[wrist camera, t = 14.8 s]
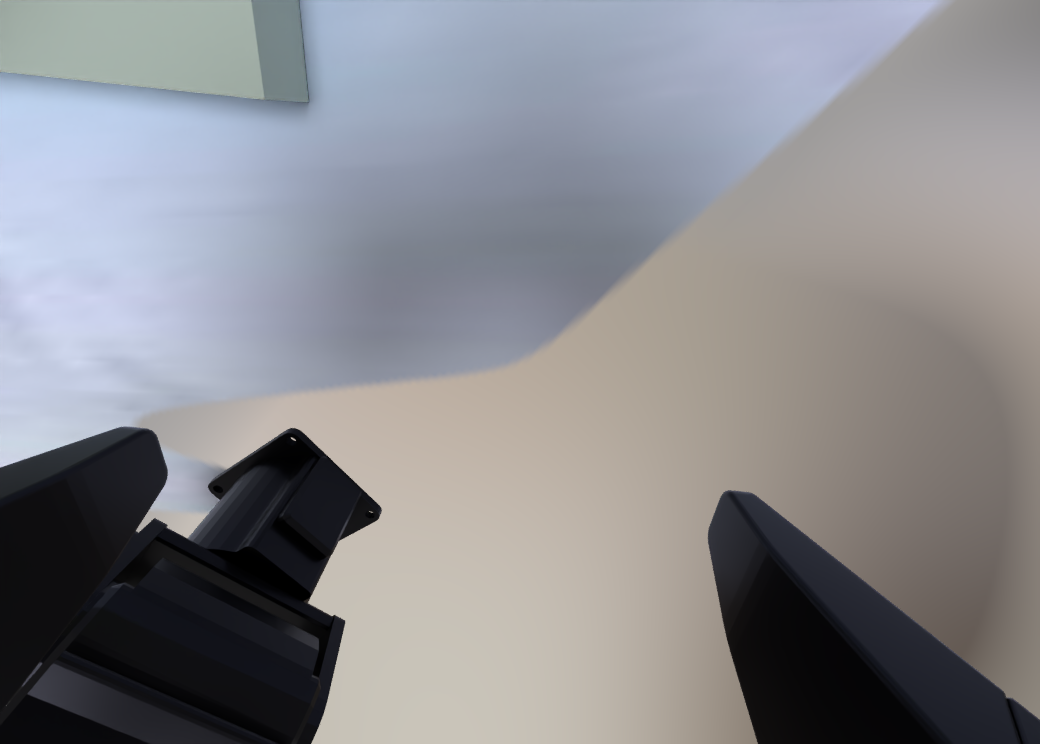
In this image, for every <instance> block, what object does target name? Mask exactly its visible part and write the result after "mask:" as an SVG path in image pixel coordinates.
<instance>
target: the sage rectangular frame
mask: <svg viewBox="0 0 1040 744" xmlns="http://www.w3.org/2000/svg"><path fill="white" fill-rule="evenodd" d="M0 72H7V73H16V74H26V75H35V76H45V77H54V78H64V79H73V80H82V81H92V82H101V83H111V84H120V85H130V86H139V87H149V88H158V89H168V90H177V91H186V92H196V93H205V94H215V95H224V96H234V97H243V98H253V99H262V100H277V101H294V102H309V100H308V90H307V79H306V69H305V59H304V49H303V38H302V28H301V18H300V7H299V0H0Z"/></svg>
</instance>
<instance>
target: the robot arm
mask: <svg viewBox="0 0 1040 744" xmlns="http://www.w3.org/2000/svg"><path fill="white" fill-rule="evenodd" d="M290 437H292V438H294V439H295V440H296V441H294V440H292V439H291V438H290ZM167 475H168V470H167V466H166V463H165V460H164V457H163V453H162V450H161V447H160V444H159V441H158V438H157V435H156V434H155V433H154V432H153V431H152V430H149V429H145V428H137V427H119V428H116V429H113V430H110V431H107V432H104V433H101V434H98V435H95V436H92V437H89V438H86V439H83V440H80V441H77V442H75V443H72V444H69V445H66V446H63V447H60V448H57V449H54V450H51V451H48V452H45V453H42V454H39V455H36V456H33V457H30V458H27V459H24V460H21V461H18V462H16V463H13V464H10V465H7V466H4V467H1V468H0V744H311V743H312V740H313V738H314V736H315V734H316V732H317V729H318V727H319V724H320V722H321V719H322V716H323V714H324V710H325V707H326V703H327V699H328V695H329V691H330V686H331V682H332V678H333V673H334V669H335V665H336V660H337V656H338V651H339V647H340V643H341V638H342V634H343V630H344V625H345V620H343V619H341V618H339V617H337V616H335V615H334V616H330V615H329V614H327V613H324V612H323V611H321V610H319V609H317V608H316V607H314V606H312V605H310V604H308V601H309V599H310V597H311V595H312V593H313V591H314V589H315V587H316V585H317V583H318V581H319V579H320V576H321V575H322V573H323V571H324V569H325V567H326V565H327V563H328V560H329V558H330V556H331V555H332V553H333V552H334V549H335V547H336V545H337V543H338V541H340V540H341V539H343V538H345V537H347V536H349V535H351V534H353V533H355V532H356V531H358V530H360V529H362V528H364V527H366V526H368V525H370V524H371V523H373V522H375V521H377V520H378V519H379V516H380V514H381V511H382V510H381V507H380V506H379V505H378V504H377V503H376V502H375V501H374V500H373V499H372V498H371V497H370V496H369V495H368V494H367V493H366V492H364V490H363V489H361V488H360V487H359V486H358V485H357V484H356V483H355V482H354V481H353V480H352V479H351V478H350V477H349V476H348V475H347V474H346V473H345V472H344V471H343V470H342V469H340V468H339V467H338V466H337V465H336V464H335V463H334V462H333V461H332V460H331V459H330V458H329V457H328V456H327V455H326V454H325V453H324V452H323V451H322V450H320V449H319V448H318V447H317V446H316V445H315V444H314V443H313V442H312V441H311V440H310V439H309V438H308V437H307V436H306V435H305V434H304V433H303V432H301V431H300V430H298V429H295V428H290V429H288V430H286V431H285V432H283V433H281V434H280V435H278V436H277V437H275V438H274V439H273V440H271V441H269V442H268V443H266V444H265V445H263V446H262V447H260V448H259V449H257V450H256V451H254V452H253V453H251V454H250V455H248V456H247V457H245V458H244V459H242V460H241V461H239V462H238V463H236V464H235V465H233V466H232V467H230V468H229V469H227V470H226V471H224V472H223V473H221V474H220V475H218V476H217V477H215V478H214V479H213V480H212V481H211V482H210V484H209V485H208V488H209V491H210V492H211V493H212V494H213V495H215V496H216V497H217V498H218V499H220V501H219V502H218V503H217V504H216V506H215V507H214V508H213V509H212V510H211V512H210V513H209V514H208V515H207V516H206V517H205V519H204V520H203V521H202V522H201V523H200V525H199V526H198V527H197V528H196V529H195V530H194V532H193V533H192V534H191V535H190V536H189V538H188V539H187V538H185V537H183V536H181V535H180V534H178V533H176V532H174V531H172V530H170V529H168V528H167V524H165V523H163V522H161V521H159V520H157V519H155V518H154V519H153V520H152V521H151V522H150V523H149V524H148V525H147V526H146V527H144V528H143V529H142V530H141V531H140V532H139V533H138V532H136V529H137V528H138V526H139V524H140V523H141V522H142V520H143V518H144V517H145V515H146V514H147V512H148V511H149V509H150V507H151V506H152V504H153V503H154V501H155V500H156V498H157V496H158V495H159V493H160V492H161V490H162V489H163V487H164V485H165V483H166V480H167ZM369 511H371V512H373V513H371V512H369ZM708 544H709V549H710V554H711V560H712V565H713V570H714V576H715V581H716V586H717V591H718V597H719V602H720V607H721V613H722V618H723V623H724V628H725V633H726V637H727V641H728V644H729V648H730V652H731V655H732V659H733V662H734V665H735V669H736V672H737V676H738V679H739V682H740V686H741V689H742V692H743V696H744V699H745V702H746V706H747V709H748V712H749V715H750V719H751V722H752V725H753V729H754V732H755V736H756V739H757V742H758V744H1040V720H1039V719H1038V718H1037V717H1036V716H1034V715H1033V714H1032V713H1030V712H1029V711H1028V710H1027V709H1026V708H1024V707H1023V706H1022V705H1021V704H1019V703H1018V702H1017V701H1015V700H1014V699H1013V698H1006V696H1005V693H1004V692H1003V691H1002V690H1001V689H1000V688H999V687H997V686H996V685H995V684H994V683H992V682H991V681H990V680H988V679H987V678H986V677H985V676H984V675H982V674H981V673H980V672H979V671H977V670H976V669H975V668H973V667H972V666H971V665H970V664H968V663H967V662H966V661H965V660H963V659H962V658H961V657H960V656H958V655H957V654H956V653H954V652H953V651H952V650H951V649H949V648H948V647H946V645H944V644H943V643H942V642H941V641H939V640H938V639H937V638H936V637H934V636H933V635H932V634H930V633H929V632H928V631H927V630H925V629H924V628H923V627H922V626H920V625H919V624H918V623H916V622H915V621H914V620H913V619H911V618H910V617H909V616H908V615H906V614H905V613H904V612H903V611H901V610H900V609H899V608H898V607H896V606H895V605H894V604H892V603H891V602H890V601H889V600H887V599H886V598H885V597H884V596H882V595H881V594H880V593H878V592H877V591H876V590H875V589H873V588H872V587H871V586H870V585H868V584H867V583H866V582H864V581H863V580H862V579H861V578H860V577H858V576H857V575H856V574H855V573H853V572H852V571H851V570H849V569H848V568H847V567H846V566H844V565H843V564H842V563H841V562H839V561H838V560H837V559H835V558H834V557H833V556H831V555H830V554H829V553H828V552H827V551H825V550H824V549H823V548H822V547H820V546H819V545H817V543H815V542H814V541H813V540H811V539H810V538H809V537H808V536H806V535H805V534H804V533H803V532H801V531H800V530H799V529H798V528H796V527H795V526H793V524H791V523H790V522H789V521H787V520H786V519H785V518H783V517H782V516H781V515H780V514H779V513H777V512H776V511H775V510H774V509H772V508H771V507H770V506H768V505H767V504H766V503H765V502H763V501H762V500H761V499H759V498H758V497H757V496H756V495H754V494H752V493H749V492H741V491H731V490H728V491H725V492H724V493H723V494H722V496H721V498H720V500H719V503H718V505H717V508H716V511H715V513H714V516H713V519H712V521H711V524H710V527H709V531H708Z"/></svg>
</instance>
